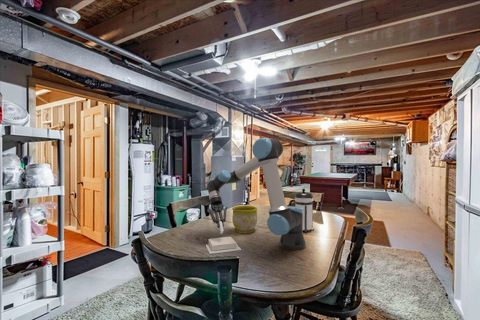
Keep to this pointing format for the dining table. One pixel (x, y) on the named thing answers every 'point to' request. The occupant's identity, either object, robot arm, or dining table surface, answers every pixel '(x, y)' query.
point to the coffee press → (305, 208)
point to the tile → (222, 243)
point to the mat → (222, 250)
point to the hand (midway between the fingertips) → (222, 232)
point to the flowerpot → (244, 218)
